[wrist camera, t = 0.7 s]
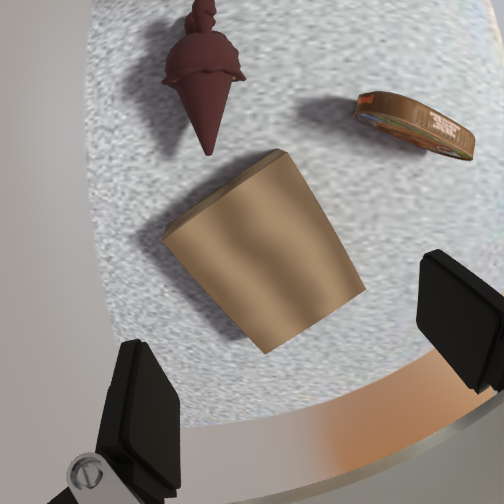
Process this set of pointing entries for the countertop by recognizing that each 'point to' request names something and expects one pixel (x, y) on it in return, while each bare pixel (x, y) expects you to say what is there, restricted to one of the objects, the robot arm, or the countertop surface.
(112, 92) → the countertop surface
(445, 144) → the tin
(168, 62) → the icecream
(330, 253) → the base
